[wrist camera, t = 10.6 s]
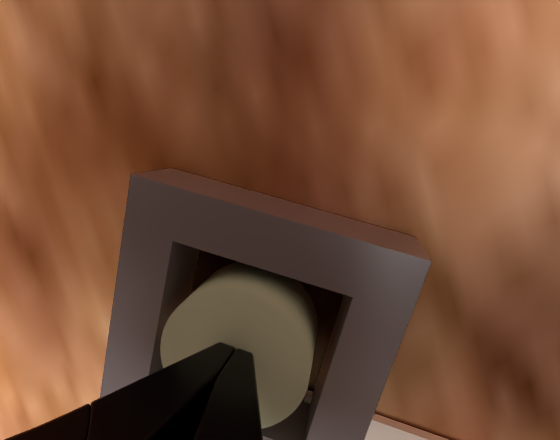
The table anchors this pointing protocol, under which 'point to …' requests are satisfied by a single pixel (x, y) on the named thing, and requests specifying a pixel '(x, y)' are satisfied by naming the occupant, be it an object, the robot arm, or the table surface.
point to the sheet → (389, 428)
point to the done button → (251, 331)
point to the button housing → (275, 258)
